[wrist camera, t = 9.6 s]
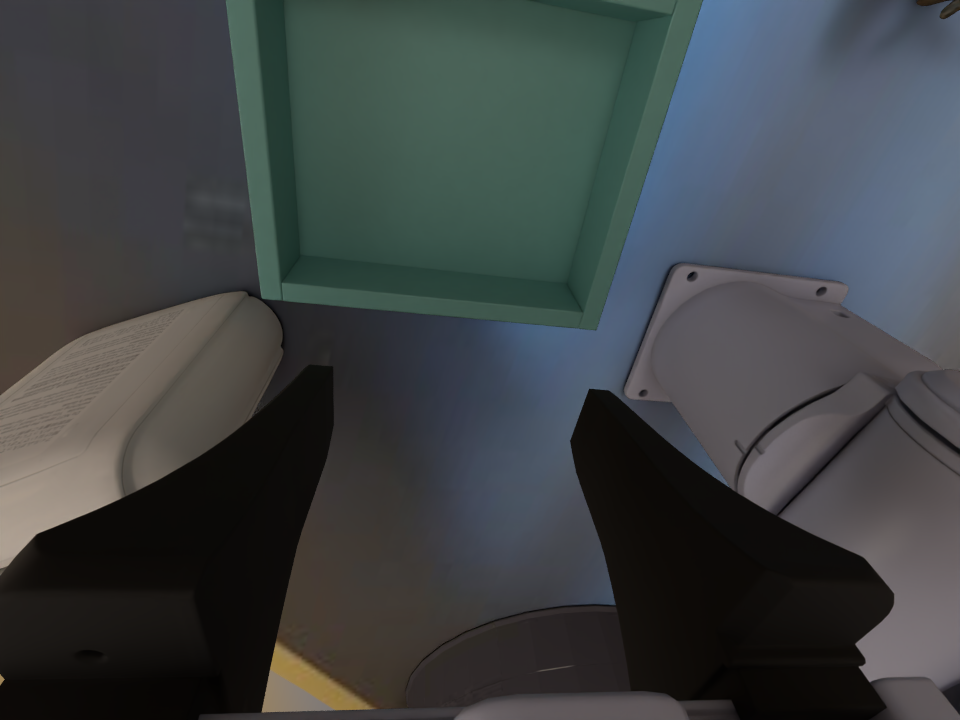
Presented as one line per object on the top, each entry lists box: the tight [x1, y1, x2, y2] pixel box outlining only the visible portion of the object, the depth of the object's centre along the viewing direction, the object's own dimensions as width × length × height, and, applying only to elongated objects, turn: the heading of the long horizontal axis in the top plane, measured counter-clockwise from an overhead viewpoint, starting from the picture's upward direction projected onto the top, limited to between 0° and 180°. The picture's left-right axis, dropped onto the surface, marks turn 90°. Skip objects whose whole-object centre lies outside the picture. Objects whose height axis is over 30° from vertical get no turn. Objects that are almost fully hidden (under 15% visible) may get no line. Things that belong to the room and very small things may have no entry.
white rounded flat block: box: [0, 291, 283, 575], centre depth 17 cm, size 10×4×12 cm, turn 106°
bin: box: [226, 0, 703, 330], centre depth 17 cm, size 14×12×4 cm
